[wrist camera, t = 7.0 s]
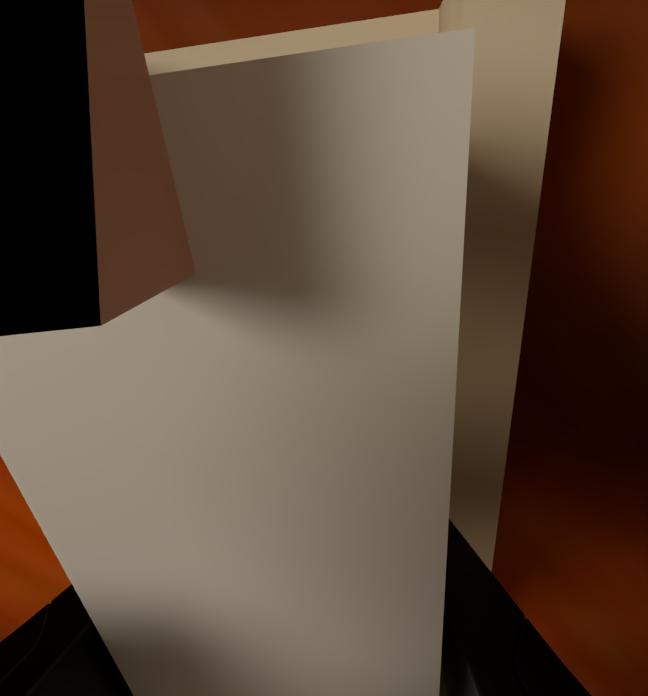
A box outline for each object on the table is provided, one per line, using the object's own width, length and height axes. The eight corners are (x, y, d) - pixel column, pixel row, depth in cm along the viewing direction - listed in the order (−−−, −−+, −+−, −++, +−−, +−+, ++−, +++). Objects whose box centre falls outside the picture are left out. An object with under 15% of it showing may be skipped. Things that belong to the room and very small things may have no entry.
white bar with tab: (132, 101, 7) (-1025, -314, 1) (398, 64, 6) (790, -1141, 1) (270, 641, 14) (204, 980, 8) (405, 647, 13) (441, 1016, 7)
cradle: (78, 79, 9) (-41, 36, 6) (500, 17, 8) (574, -67, 5) (233, 598, 17) (209, 676, 14) (456, 603, 16) (476, 690, 13)
